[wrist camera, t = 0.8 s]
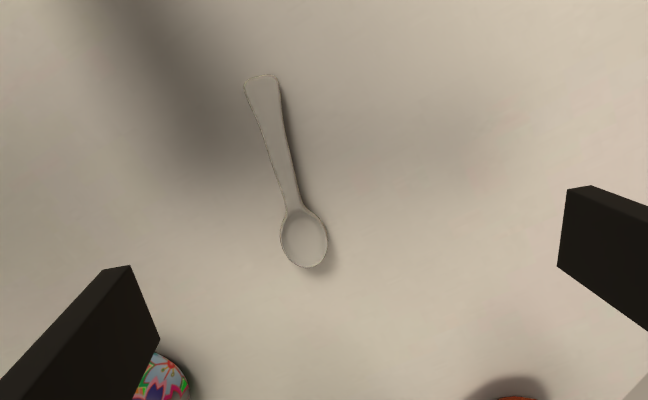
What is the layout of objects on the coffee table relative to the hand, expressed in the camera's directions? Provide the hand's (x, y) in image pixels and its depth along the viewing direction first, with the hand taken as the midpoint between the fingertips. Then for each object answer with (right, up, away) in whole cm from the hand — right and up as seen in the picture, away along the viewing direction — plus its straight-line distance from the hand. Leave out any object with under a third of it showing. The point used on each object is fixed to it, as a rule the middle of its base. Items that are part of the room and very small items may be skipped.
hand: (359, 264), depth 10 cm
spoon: (-3, +4, +11) cm, 12 cm away
